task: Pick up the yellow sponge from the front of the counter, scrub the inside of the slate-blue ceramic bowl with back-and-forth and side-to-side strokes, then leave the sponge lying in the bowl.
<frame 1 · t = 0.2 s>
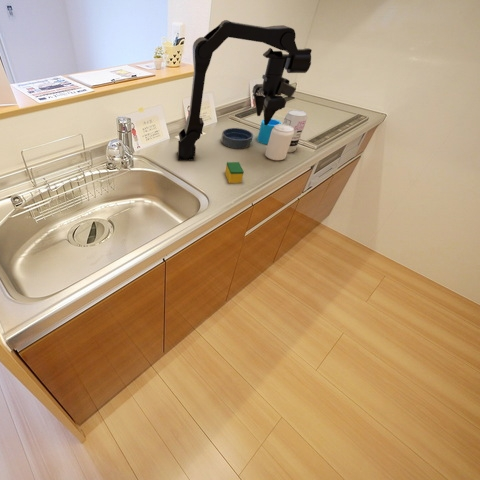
hand: (262, 120, 103), 15 cm above the counter, tool pointing down, fingers open, 9 cm apart
supplement can: (285, 149, 118), on the counter
beverage can: (274, 157, 113), on the counter
bowl: (235, 142, 123), on the counter
sponge: (232, 177, 101), on the counter
mug: (268, 139, 125), on the counter
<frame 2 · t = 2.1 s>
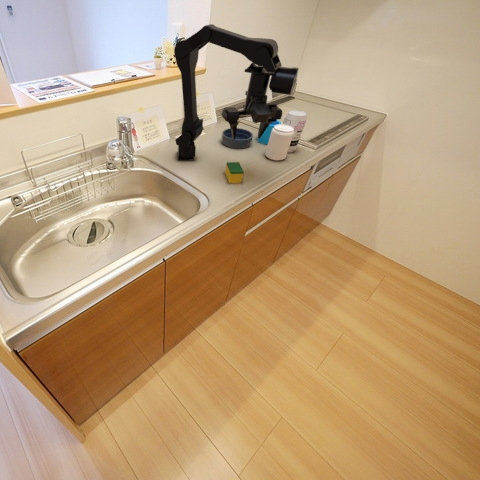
hand: (246, 138, 96), 13 cm above the counter, tool pointing down, fingers open, 9 cm apart
nothing on the counter moved.
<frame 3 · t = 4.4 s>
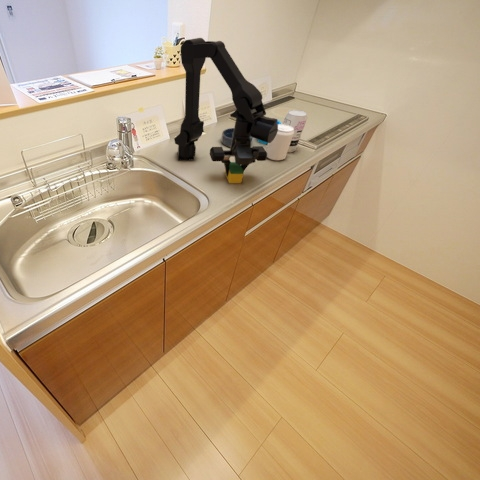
hand: (233, 175, 100), 1 cm above the counter, tool pointing down, fingers closed on sponge, 4 cm apart
sponge: (232, 177, 101), on the counter, touching gripper
everything else where it was.
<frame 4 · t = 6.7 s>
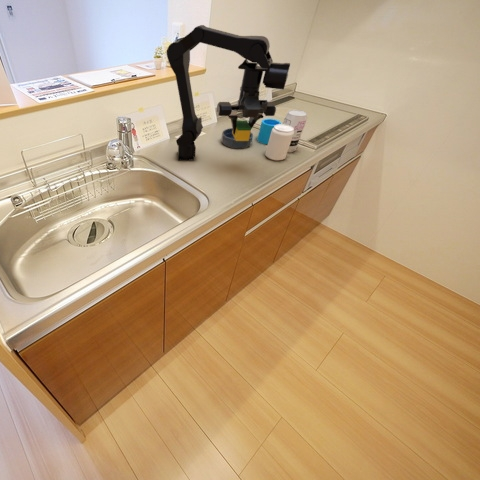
hand: (240, 133, 98), 13 cm above the counter, tool pointing down, fingers closed on sponge, 4 cm apart
sponge: (240, 136, 99), point 12 cm above the counter, touching gripper
everything else where it was.
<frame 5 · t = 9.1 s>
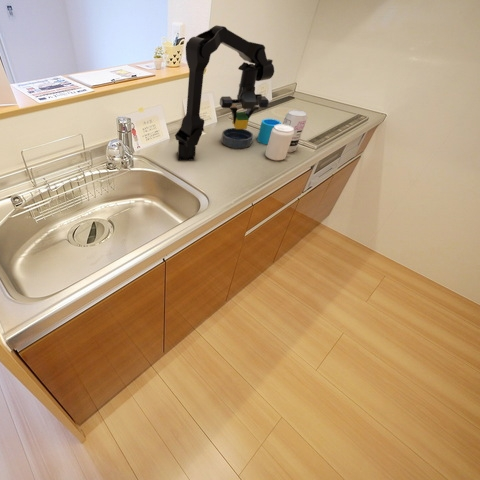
hand: (239, 123, 117), 9 cm above the counter, tool pointing down, fingers closed on sponge, 4 cm apart
sponge: (239, 125, 117), point 8 cm above the counter, touching gripper
everything else where it was.
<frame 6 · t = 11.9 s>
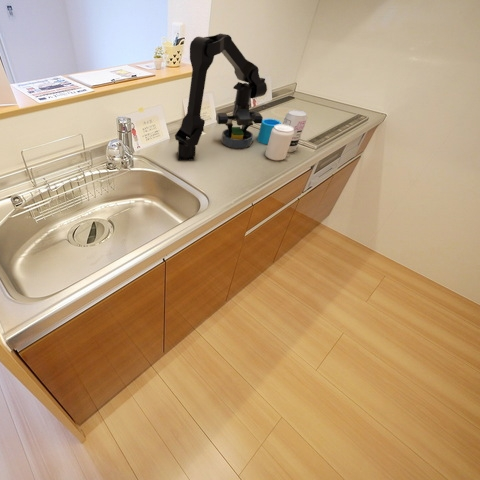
hand: (235, 137, 122), 2 cm above the counter, tool pointing down, fingers closed on sponge, 4 cm apart
sponge: (234, 140, 123), point 1 cm above the counter, touching gripper
everything else where it was.
when the fingers open (2 cm above the counter, at t = 14.7 s): sponge stays where it is, resting on bowl.
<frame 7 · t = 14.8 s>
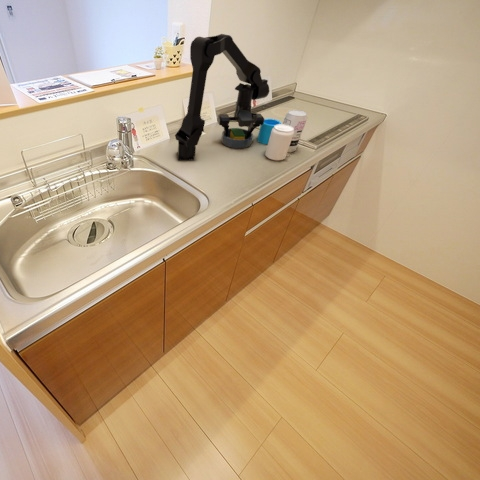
hand: (236, 139, 122), 2 cm above the counter, tool pointing down, fingers open, 9 cm apart
sponge: (236, 141, 122), resting on bowl
everything else where it was.
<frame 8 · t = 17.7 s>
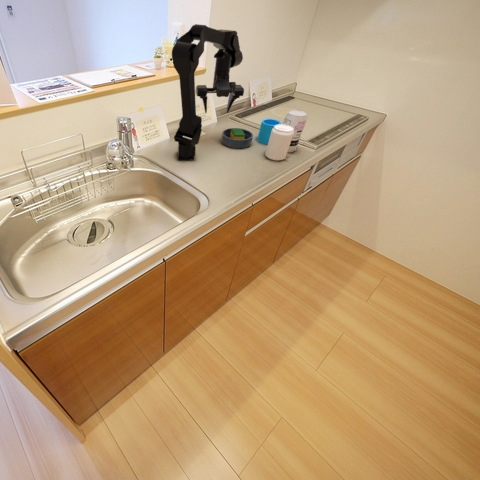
hand: (216, 112, 116), 12 cm above the counter, tool pointing down, fingers open, 9 cm apart
nothing on the counter moved.
at the end: sponge inside the target area in the bowl (0.1 cm from its centre), point 0.5 cm above the bowl's base; sponge tilted 0°; the gripper is holding nothing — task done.
